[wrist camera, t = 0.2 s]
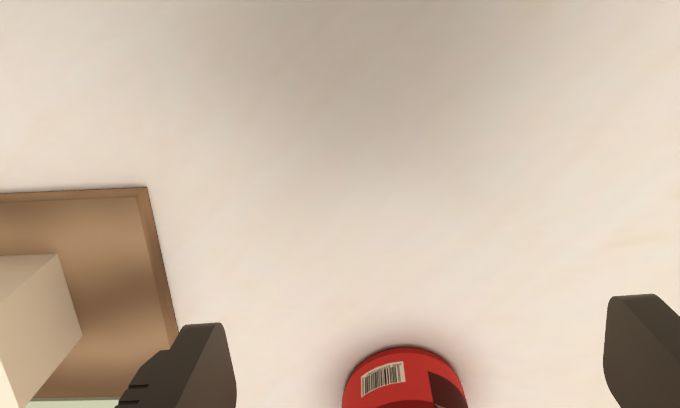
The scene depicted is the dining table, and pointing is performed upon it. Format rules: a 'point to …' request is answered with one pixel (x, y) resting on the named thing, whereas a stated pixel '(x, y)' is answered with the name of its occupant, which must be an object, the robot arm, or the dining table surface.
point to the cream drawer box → (33, 325)
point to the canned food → (404, 382)
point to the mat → (74, 402)
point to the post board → (98, 280)
